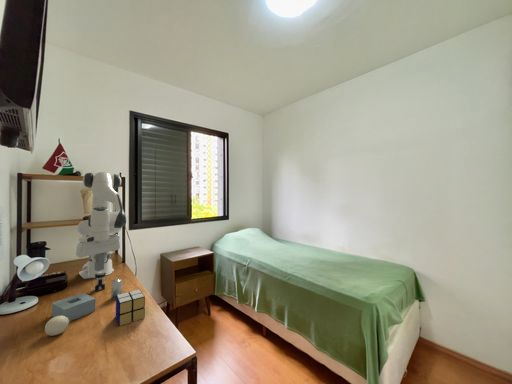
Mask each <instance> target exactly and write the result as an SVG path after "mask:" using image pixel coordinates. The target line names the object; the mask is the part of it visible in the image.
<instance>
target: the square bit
mask: <svg viewBox="0 0 512 384" xmlns="http://www.w3.org/2000/svg"><path fill="white" fill-rule="evenodd" d="M95 259H97V262H96V263H95V264H94V270H96V271H100V270H103V269H104V253H100V254H95Z"/></svg>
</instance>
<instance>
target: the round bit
mask: <svg viewBox="0 0 512 384" xmlns="http://www.w3.org/2000/svg"><path fill="white" fill-rule="evenodd" d="M119 294H123V279H122V278H116V279H113V280H111V295H110V296H111V300H116V296H117V295H119Z"/></svg>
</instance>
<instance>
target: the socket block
mask: <svg viewBox="0 0 512 384" xmlns="http://www.w3.org/2000/svg"><path fill="white" fill-rule="evenodd" d="M94 312H96V297H93V296H91V295H89V294H87V293H85V292H82V293H78V294H76V295H73V296H70V297H67V298H63V299H60V300H57V301H55V302H52V304H51V317H52V318H53V317H56V316H65V317H67V318H68V319H69V322H71V321H74V320H76V319H79V318H81V317H84V316H86V315H88V314H91V313H94Z"/></svg>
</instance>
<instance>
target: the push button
mask: <svg viewBox="0 0 512 384" xmlns="http://www.w3.org/2000/svg"><path fill="white" fill-rule="evenodd" d="M105 274H106V273H104V271H101V272H97V274H95V278H94V279H96V283H95V285H94V287H91V290H92V291H101V290H105V289H106V283H105V277H106V276H105Z"/></svg>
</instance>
